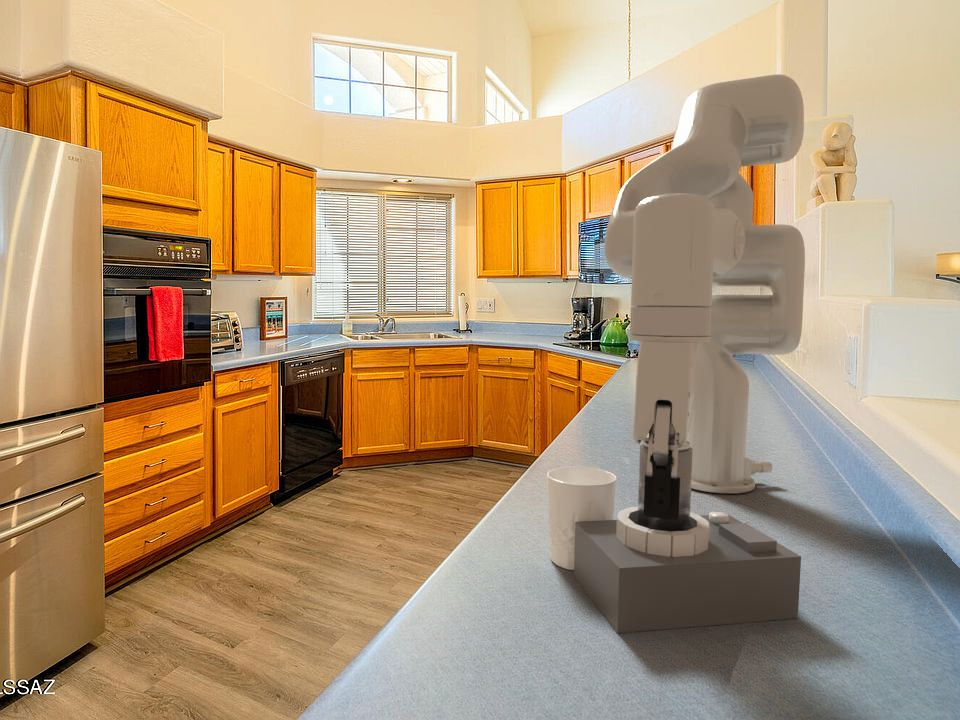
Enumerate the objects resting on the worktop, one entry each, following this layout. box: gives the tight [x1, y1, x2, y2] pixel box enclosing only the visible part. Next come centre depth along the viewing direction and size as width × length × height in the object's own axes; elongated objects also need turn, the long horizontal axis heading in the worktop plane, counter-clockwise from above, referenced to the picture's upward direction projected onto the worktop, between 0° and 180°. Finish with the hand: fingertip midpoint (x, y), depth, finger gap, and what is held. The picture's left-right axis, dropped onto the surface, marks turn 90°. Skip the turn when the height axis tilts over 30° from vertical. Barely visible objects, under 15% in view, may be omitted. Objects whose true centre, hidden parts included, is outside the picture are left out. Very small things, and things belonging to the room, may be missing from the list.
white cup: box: [546, 466, 617, 571], centre depth 70 cm, size 8×8×10 cm
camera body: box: [573, 505, 802, 634], centre depth 61 cm, size 18×12×8 cm, turn 100°
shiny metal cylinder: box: [637, 436, 693, 532], centre depth 61 cm, size 5×5×9 cm
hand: (663, 506), depth 61 cm, fingers closed on shiny metal cylinder, 5 cm apart
